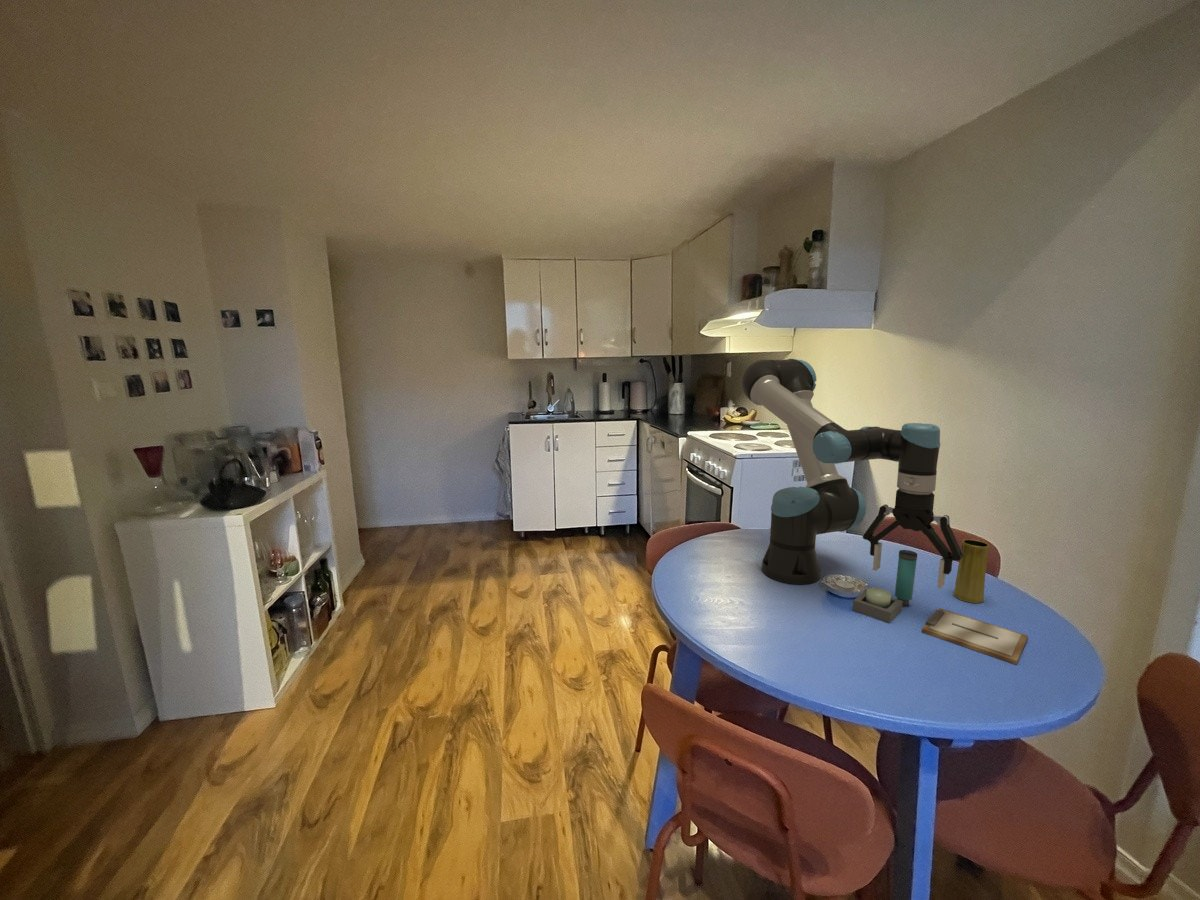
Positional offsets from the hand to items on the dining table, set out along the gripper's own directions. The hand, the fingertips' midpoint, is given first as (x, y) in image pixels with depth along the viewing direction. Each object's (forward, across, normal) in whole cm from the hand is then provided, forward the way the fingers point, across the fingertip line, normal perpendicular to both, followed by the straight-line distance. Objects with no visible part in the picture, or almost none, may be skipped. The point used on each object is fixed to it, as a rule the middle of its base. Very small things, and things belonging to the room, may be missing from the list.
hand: (907, 577), depth 118 cm
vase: (+7, +10, +15) cm, 19 cm away
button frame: (+7, -4, -8) cm, 11 cm away
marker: (+7, 0, 0) cm, 7 cm away
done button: (+5, -3, -8) cm, 10 cm away
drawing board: (+7, +14, -4) cm, 17 cm away
